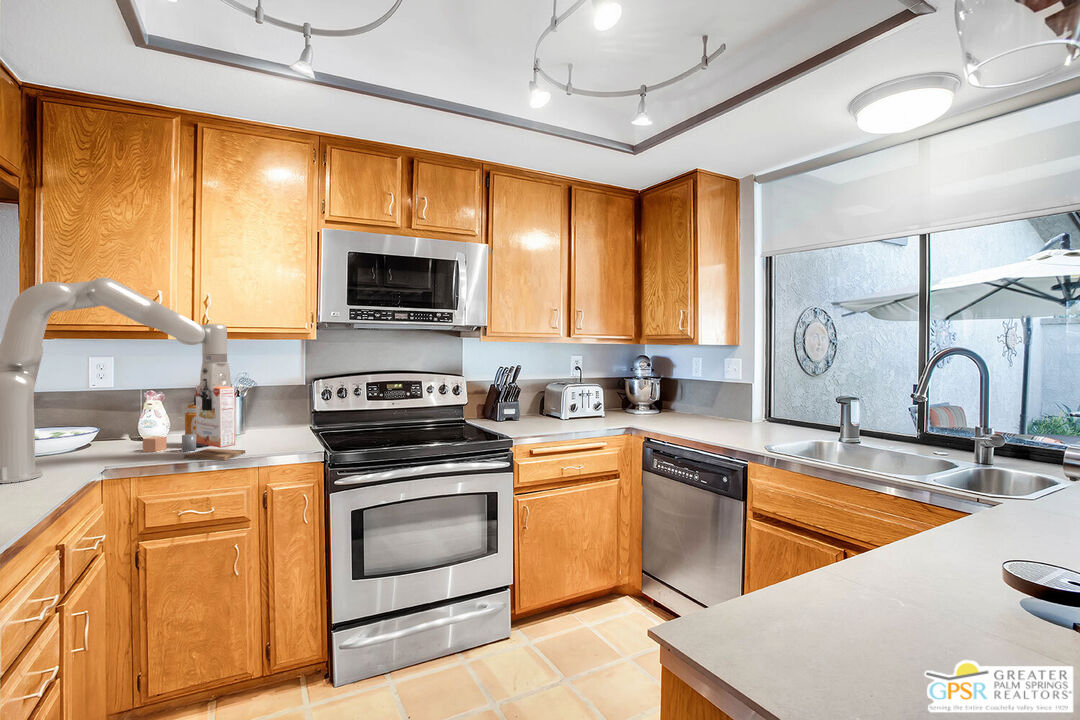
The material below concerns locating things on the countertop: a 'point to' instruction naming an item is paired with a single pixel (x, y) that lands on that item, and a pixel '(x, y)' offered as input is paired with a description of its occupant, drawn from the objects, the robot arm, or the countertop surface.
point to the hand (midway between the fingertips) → (215, 408)
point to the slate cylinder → (188, 442)
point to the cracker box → (216, 418)
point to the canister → (191, 420)
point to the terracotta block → (154, 444)
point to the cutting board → (215, 454)
